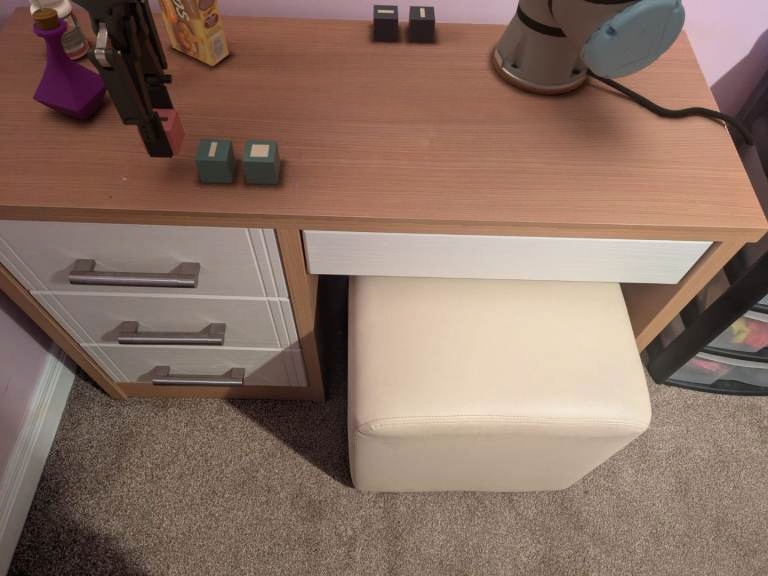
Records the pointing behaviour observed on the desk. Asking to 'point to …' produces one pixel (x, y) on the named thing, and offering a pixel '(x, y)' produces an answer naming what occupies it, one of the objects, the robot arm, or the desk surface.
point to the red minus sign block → (170, 129)
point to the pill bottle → (74, 35)
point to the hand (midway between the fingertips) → (165, 142)
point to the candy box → (195, 28)
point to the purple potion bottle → (64, 72)
